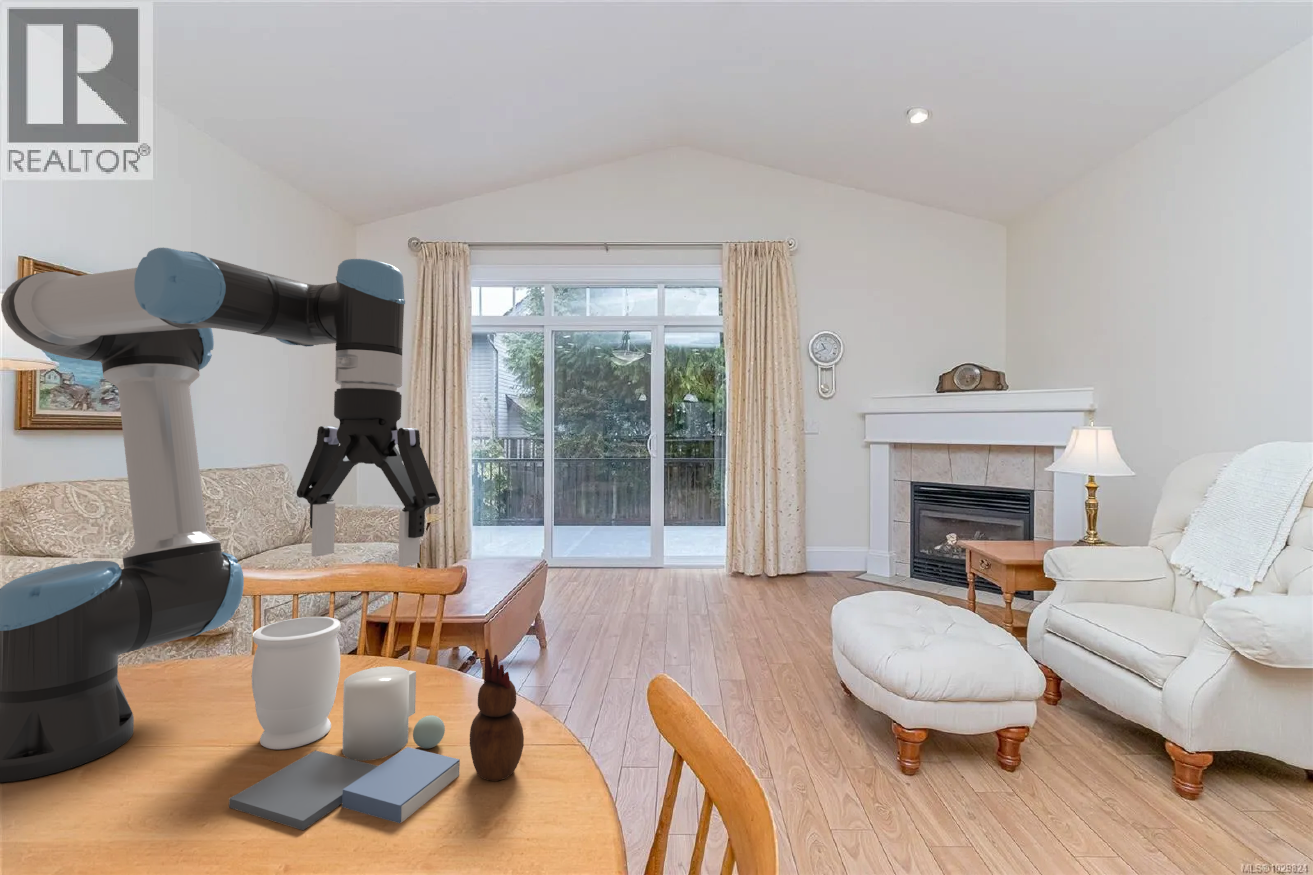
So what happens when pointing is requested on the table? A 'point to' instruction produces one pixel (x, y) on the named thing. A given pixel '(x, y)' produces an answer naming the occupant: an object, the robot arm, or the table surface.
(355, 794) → the book
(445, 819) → the table surface
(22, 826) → the table surface
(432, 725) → the ball
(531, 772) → the table surface
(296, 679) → the jar
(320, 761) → the coaster
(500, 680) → the wooden figurine
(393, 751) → the mug
